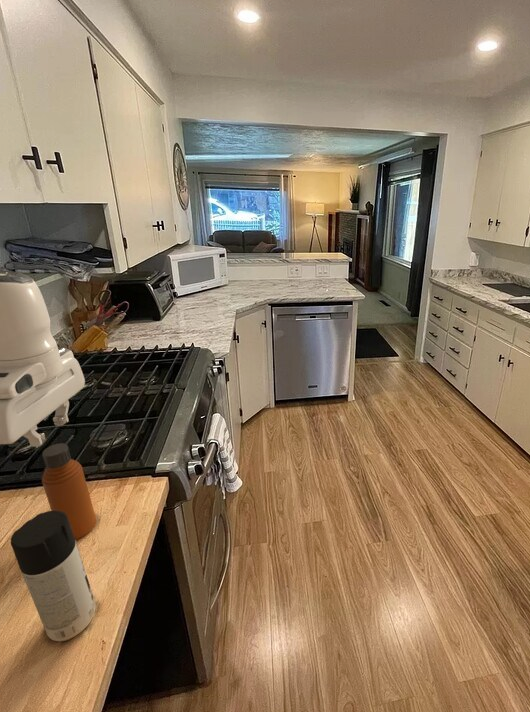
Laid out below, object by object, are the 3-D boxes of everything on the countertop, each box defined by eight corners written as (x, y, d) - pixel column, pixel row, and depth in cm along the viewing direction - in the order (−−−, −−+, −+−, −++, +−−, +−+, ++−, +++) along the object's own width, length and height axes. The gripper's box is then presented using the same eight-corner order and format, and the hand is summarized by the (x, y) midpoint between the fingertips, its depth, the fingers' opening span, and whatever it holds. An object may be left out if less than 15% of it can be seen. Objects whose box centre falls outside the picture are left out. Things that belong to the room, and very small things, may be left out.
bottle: (52, 541, 71) (25, 462, 64) (72, 515, 77) (50, 441, 70) (84, 540, 71) (61, 462, 65) (102, 514, 77) (83, 440, 71)
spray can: (106, 606, 59) (79, 515, 53) (67, 651, 53) (30, 554, 47) (77, 593, 61) (47, 503, 55) (36, 634, 55) (-4, 539, 49)
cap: (40, 469, 66) (36, 456, 65) (55, 455, 70) (51, 443, 69) (62, 468, 66) (58, 456, 66) (75, 454, 70) (72, 443, 69)
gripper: (52, 344, 71) (69, 404, 76) (-44, 395, 52) (-13, 471, 57) (85, 344, 71) (99, 404, 76) (0, 394, 52) (27, 471, 57)
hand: (51, 433), depth 66 cm, fingers open, 5 cm apart
